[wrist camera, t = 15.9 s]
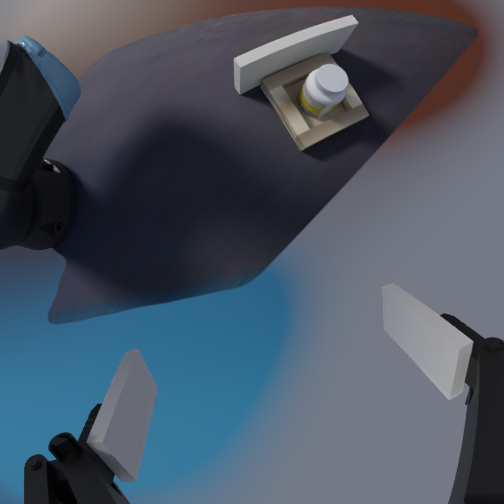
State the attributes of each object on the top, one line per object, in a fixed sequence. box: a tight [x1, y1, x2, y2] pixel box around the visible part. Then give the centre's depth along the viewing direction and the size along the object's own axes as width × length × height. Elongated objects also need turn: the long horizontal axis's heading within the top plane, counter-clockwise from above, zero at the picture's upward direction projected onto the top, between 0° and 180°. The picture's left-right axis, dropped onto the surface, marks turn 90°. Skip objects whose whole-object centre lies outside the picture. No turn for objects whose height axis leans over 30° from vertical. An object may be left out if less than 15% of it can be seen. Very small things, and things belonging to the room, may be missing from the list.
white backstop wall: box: [234, 15, 358, 95], centre depth 35 cm, size 2×18×10 cm, turn 121°
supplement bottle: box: [298, 64, 348, 118], centre depth 36 cm, size 5×5×10 cm
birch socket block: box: [260, 52, 369, 151], centre depth 39 cm, size 12×12×3 cm
